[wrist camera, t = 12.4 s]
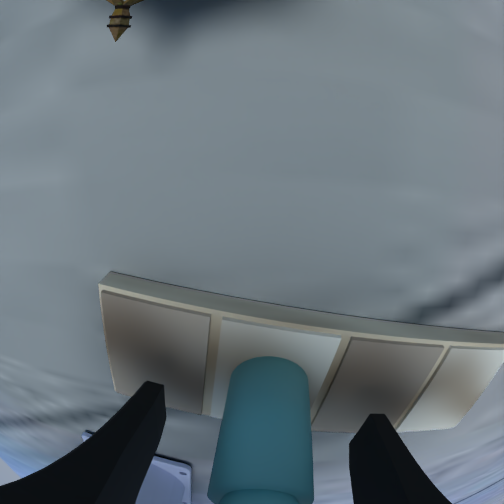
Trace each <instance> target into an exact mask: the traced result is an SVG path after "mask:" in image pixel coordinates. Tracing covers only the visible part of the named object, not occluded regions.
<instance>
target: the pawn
mask: <svg viewBox="0 0 504 504" xmlns="http://www.w3.org/2000/svg"><path fill="white" fill-rule="evenodd" d="M207 496H208V498H209V499H210V500H211V501H212V502H213V503H215V504H312V503H313V501H314V486H313V456H312V433H311V415H310V398H309V383H308V377H307V374H306V373H305V371H304V370H303V369H302V368H301V367H300V366H299V365H298V364H296V363H294V362H292V361H290V360H288V359H284V358H280V357H274V356H262V357H256V358H252V359H249V360H246V361H244V362H242V363H241V364H239V365H238V366H237V367H236V368H235V369H234V370H233V372H232V374H231V377H230V382H229V387H228V392H227V397H226V402H225V407H224V413H223V418H222V423H221V428H220V433H219V438H218V443H217V448H216V453H215V458H214V463H213V468H212V473H211V478H210V483H209V488H208V493H207Z"/></svg>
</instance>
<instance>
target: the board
mask: <svg viewBox="0 0 504 504" xmlns="http://www.w3.org/2000/svg"><path fill="white" fill-rule="evenodd" d="M98 286H99V296H100V305H101V313H102V321H103V328H104V335H105V341H106V347H107V353H108V359H109V364H110V369H111V374H112V379H113V384H114V389H115V391H116V392H117V393H120V394H123V395H127V396H130V397H132V396H133V395H134V394H135V393H136V391H137V390H138V389H139V388H140V387H141V385H142V384H143V383H144V382H145V381H147V380H148V381H151V382H155V383H159V384H163V385H164V390H165V407H169V408H173V409H177V410H181V411H185V412H189V413H194V414H198V415H201V414H203V415H208V416H210V417H213V418H218V419H222V418H223V413H224V407H225V402H226V397H227V392H228V387H229V382H230V377H231V374H232V372H233V370H234V369H235V368H236V367H237V366H238V365H239V364H241V363H242V362H244V361H246V360H249V359H252V358H256V357H262V356H274V357H280V358H284V359H288V360H290V361H292V362H294V363H296V364H298V365H299V366H300V367H301V368H302V369H303V370H304V371H305V373H306V374H307V377H308V383H309V398H310V415H311V431H321V432H343V433H357V432H358V431H359V429H360V428H361V426H362V425H363V423H364V422H365V420H366V419H367V417H368V416H369V414H385V415H386V416H387V418H388V419H389V421H390V422H391V424H392V426H393V427H394V429H395V430H396V432H414V431H428V430H439V429H448V428H455V427H456V426H457V424H458V423H459V422H460V421H461V420H462V418H463V417H464V416H465V415H466V414H467V412H468V411H469V410H470V409H471V407H472V406H473V405H474V403H475V402H476V401H477V400H478V398H479V397H480V396H481V394H482V393H483V391H484V390H485V389H486V387H487V386H488V385H489V383H490V382H491V380H492V379H493V377H494V376H495V374H496V373H497V371H498V370H499V368H500V367H501V365H502V364H503V362H504V332H492V331H479V330H468V329H457V328H446V327H436V326H427V325H418V324H409V323H401V322H392V321H384V320H376V319H369V318H361V317H354V316H347V315H340V314H333V313H326V312H319V311H313V310H306V309H300V308H294V307H288V306H282V305H276V304H270V303H264V302H258V301H252V300H247V299H241V298H236V297H230V296H225V295H220V294H214V293H209V292H204V291H199V290H194V289H189V288H184V287H179V286H174V285H169V284H165V283H160V282H155V281H150V280H146V279H141V278H137V277H132V276H128V275H123V274H119V273H115V272H109V273H108V274H107V275H106V276H105V277H104V278H103V279H102V280H101V281H100V282H99V283H98Z"/></svg>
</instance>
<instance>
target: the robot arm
mask: <svg viewBox="0 0 504 504" xmlns="http://www.w3.org/2000/svg"><path fill="white" fill-rule="evenodd" d="M165 421H166V407H165V390H164V385H163V384H159V383H155V382H151V381H148V380H147V381H145V382H144V383H143V384H142V385H141V387H140V388H139V389H138V390H137V391H136V393H135V394H134V395H133V396H132V397H131V398H130V399H129V400H128V401H127V403H126V404H125V405H124V406H123V407H122V408H121V409H120V410H119V411H118V412H117V413H116V414H115V415H114V416H113V417H112V418H111V419H110V420H109V421H108V422H107V423H105V424H104V425H103V426H102V427H101V428H100V429H99V430H98V431H96V432H95V433H94V434H93V435H92V434H89V433H87V432H84V433H83V434H82V436H81V437H82V439H83V441H84V442H83V443H82V444H81V445H79V446H78V447H77V448H75V449H74V450H72V451H71V452H69V453H68V454H66V455H65V456H63V457H62V458H60V459H59V460H57V461H55V462H54V463H52V464H50V465H48V466H47V467H45V468H43V469H41V470H39V471H37V472H35V473H33V474H30V475H28V476H26V477H24V478H22V479H20V480H17V481H14V482H11V483H8V484H5V485H2V486H0V504H191V467H190V466H189V465H187V464H184V463H180V462H176V461H172V460H168V459H164V458H160V457H157V456H154V455H155V452H156V450H157V447H158V445H159V442H160V439H161V435H162V432H163V428H164V425H165ZM349 468H350V477H351V485H352V493H353V501H354V504H452V503H451V502H450V501H449V500H448V499H447V498H446V497H445V496H444V495H443V494H442V493H441V492H440V491H439V490H438V489H437V488H436V487H435V485H434V484H433V483H432V482H431V481H430V479H429V478H428V477H427V475H426V474H425V473H424V472H423V470H422V469H421V468H420V466H419V465H418V463H417V462H416V461H415V459H414V458H413V456H412V455H411V453H410V452H409V450H408V449H407V447H406V446H405V444H404V443H403V441H402V440H401V438H400V437H399V435H398V433H397V432H396V430H395V429H394V427H393V426H392V424H391V422H390V421H389V419H388V418H387V416H386V415H385V414H369V416H368V417H367V419H366V420H365V422H364V423H363V425H362V426H361V428H360V429H359V431H358V432H357V433H356V435H355V436H354V438H353V439H352V440H351V442H350V443H349Z"/></svg>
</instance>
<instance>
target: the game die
mask: <svg viewBox="0 0 504 504" xmlns="http://www.w3.org/2000/svg"><path fill="white" fill-rule="evenodd" d="M107 1H108V2H110V3H111V4H113V5H115V10H114V12H113V14H112V16H109V18H111V20H110V24H109V25H107V27H109V29H110V31H111V33H112V35H113V37H114V40H115V42H116V41H117V40H118V38H119V37H120V36H121V35H122V34H123V33H124V32H125V30H126V29H127V28H129V27H131V25H129V19H131V18H132V16H130V13H129V8H130V6H132V5H134V4H136V3H138V2H141V1H143V0H107Z"/></svg>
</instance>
